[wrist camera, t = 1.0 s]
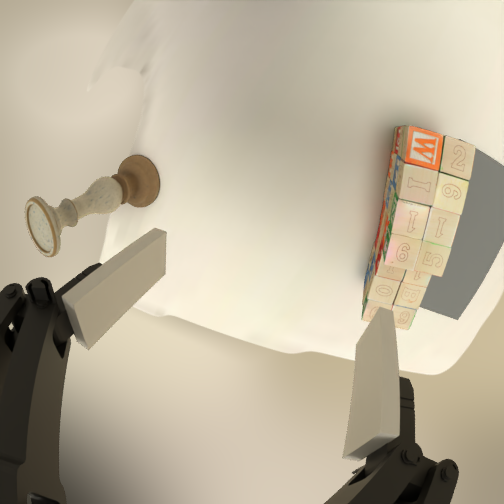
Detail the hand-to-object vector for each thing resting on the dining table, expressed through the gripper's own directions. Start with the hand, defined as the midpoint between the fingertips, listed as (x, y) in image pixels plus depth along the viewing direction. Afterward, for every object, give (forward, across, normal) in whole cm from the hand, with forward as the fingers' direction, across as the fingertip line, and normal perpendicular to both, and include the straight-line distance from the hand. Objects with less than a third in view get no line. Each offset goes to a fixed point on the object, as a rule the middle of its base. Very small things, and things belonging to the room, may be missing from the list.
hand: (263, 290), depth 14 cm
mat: (+24, +22, 0) cm, 33 cm away
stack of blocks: (+24, +12, 0) cm, 27 cm away
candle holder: (+24, -27, -7) cm, 37 cm away
